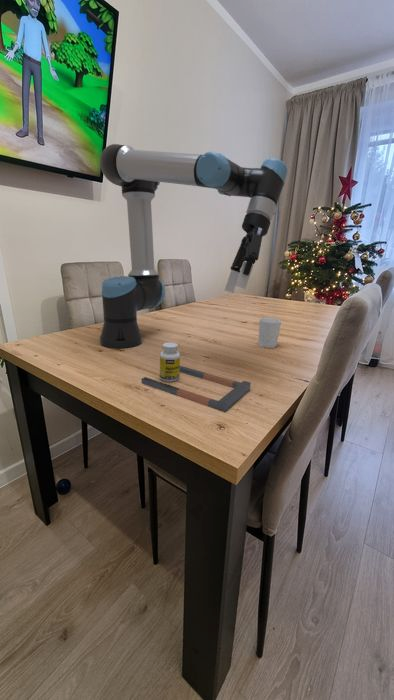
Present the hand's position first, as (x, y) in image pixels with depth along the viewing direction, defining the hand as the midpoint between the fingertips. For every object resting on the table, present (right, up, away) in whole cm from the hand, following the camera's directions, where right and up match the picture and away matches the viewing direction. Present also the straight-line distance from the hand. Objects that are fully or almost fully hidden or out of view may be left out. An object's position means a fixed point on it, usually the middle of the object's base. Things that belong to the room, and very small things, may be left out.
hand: (234, 289), depth 88 cm
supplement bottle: (-18, -25, -3) cm, 32 cm away
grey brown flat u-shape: (-11, -27, -8) cm, 30 cm away
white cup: (+16, -16, +29) cm, 37 cm away
